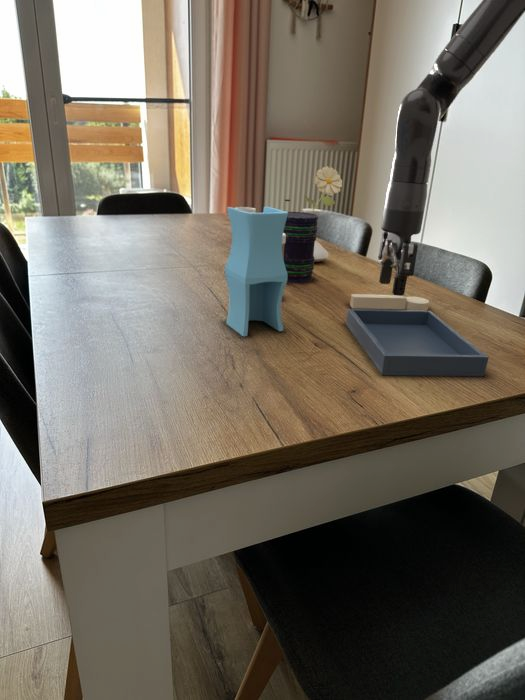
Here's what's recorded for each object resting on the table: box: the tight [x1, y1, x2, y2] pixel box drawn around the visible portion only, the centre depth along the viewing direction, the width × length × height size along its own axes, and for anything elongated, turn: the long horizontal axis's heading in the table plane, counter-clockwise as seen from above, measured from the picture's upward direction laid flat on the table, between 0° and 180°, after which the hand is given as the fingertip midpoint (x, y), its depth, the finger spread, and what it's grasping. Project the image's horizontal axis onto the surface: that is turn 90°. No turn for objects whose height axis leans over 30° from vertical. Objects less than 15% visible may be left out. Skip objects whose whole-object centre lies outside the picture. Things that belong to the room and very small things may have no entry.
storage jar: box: [283, 198, 319, 284], centre depth 121 cm, size 10×10×18 cm
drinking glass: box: [234, 206, 257, 213], centre depth 165 cm, size 7×7×10 cm
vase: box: [224, 206, 289, 337], centre depth 87 cm, size 8×8×20 cm
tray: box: [345, 308, 489, 377], centre depth 84 cm, size 16×22×3 cm
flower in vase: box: [302, 165, 343, 263], centre depth 138 cm, size 13×11×25 cm
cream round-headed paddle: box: [349, 293, 430, 311], centre depth 105 cm, size 16×5×2 cm, turn 95°
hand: (390, 289), depth 104 cm, fingers open, 8 cm apart
